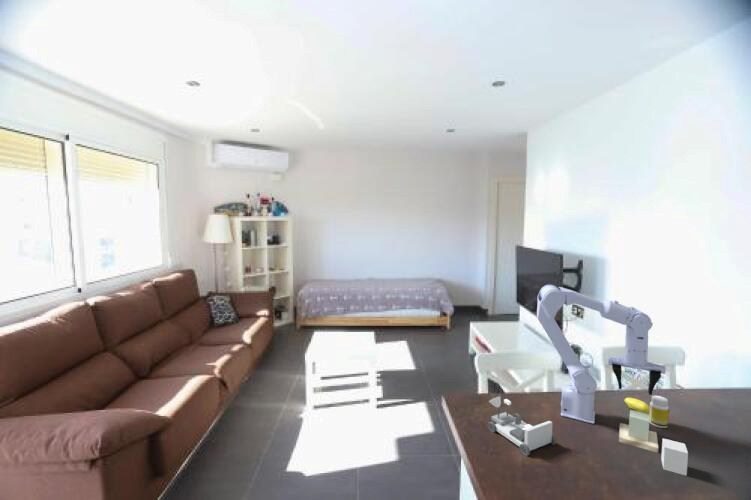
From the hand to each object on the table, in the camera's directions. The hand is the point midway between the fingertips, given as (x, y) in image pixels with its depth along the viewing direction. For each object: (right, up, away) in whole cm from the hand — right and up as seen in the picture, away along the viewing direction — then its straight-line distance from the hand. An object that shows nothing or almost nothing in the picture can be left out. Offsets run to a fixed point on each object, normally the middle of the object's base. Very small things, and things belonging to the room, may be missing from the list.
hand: (634, 390), depth 115 cm
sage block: (-5, -10, -8) cm, 14 cm away
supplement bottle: (+7, -11, 0) cm, 13 cm away
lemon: (+7, -10, +8) cm, 15 cm away
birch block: (-5, -12, -8) cm, 15 cm away
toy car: (-39, -12, -5) cm, 41 cm away
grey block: (-4, -12, -20) cm, 24 cm away
